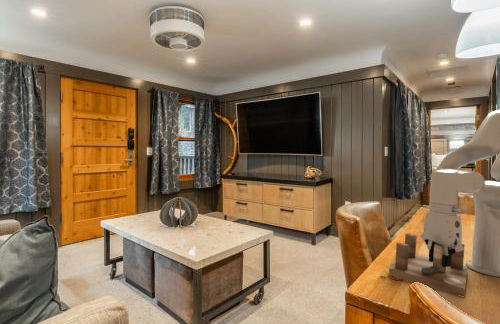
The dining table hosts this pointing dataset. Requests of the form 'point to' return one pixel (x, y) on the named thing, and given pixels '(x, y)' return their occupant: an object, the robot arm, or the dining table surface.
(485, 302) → the dining table surface
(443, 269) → the hinged leg
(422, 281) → the stool
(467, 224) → the dining table surface
